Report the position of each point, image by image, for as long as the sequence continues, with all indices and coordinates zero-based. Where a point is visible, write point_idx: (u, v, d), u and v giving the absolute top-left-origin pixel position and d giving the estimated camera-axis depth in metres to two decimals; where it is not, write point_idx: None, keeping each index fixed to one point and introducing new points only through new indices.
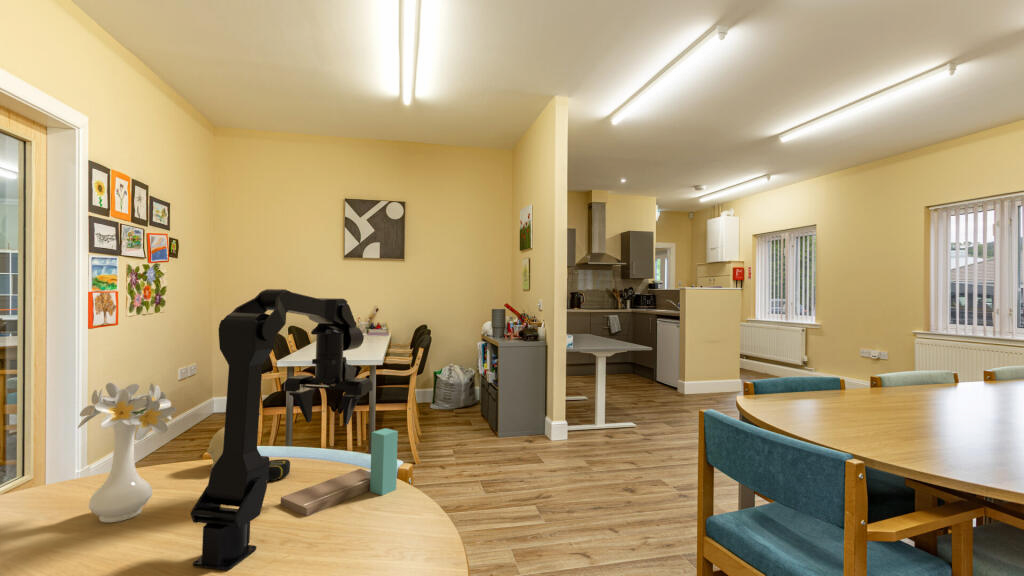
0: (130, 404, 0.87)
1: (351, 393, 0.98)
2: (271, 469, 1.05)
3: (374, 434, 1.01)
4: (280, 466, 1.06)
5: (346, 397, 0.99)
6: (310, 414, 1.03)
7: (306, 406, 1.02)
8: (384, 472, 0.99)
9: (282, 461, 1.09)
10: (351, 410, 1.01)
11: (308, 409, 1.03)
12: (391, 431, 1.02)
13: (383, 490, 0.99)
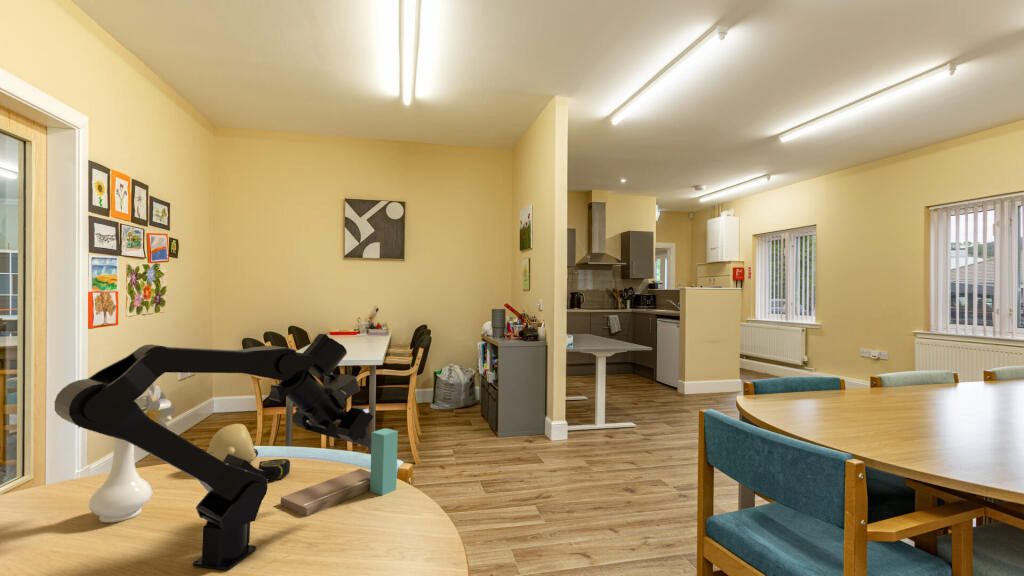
0: None
1: (347, 439, 0.85)
2: (271, 468, 1.05)
3: (374, 434, 1.01)
4: (280, 466, 1.06)
5: (346, 440, 0.87)
6: (337, 432, 0.97)
7: (327, 431, 0.95)
8: (384, 472, 0.99)
9: (282, 461, 1.09)
10: (364, 437, 0.91)
11: (331, 431, 0.96)
12: (391, 431, 1.02)
13: (383, 490, 0.99)
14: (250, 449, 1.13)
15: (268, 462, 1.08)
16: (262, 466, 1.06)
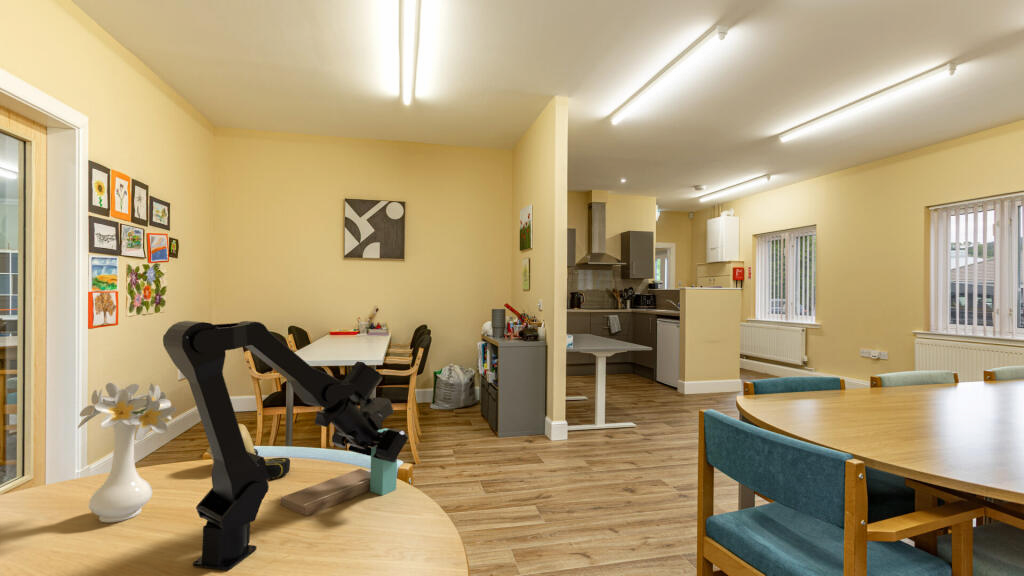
0: (130, 404, 0.87)
1: (385, 459, 0.93)
2: (271, 467, 1.06)
3: None
4: (280, 464, 1.07)
5: None
6: None
7: (370, 451, 1.02)
8: (384, 472, 0.99)
9: (282, 459, 1.10)
10: None
11: None
12: None
13: (383, 490, 0.99)
14: (250, 449, 1.13)
15: (268, 461, 1.09)
16: None
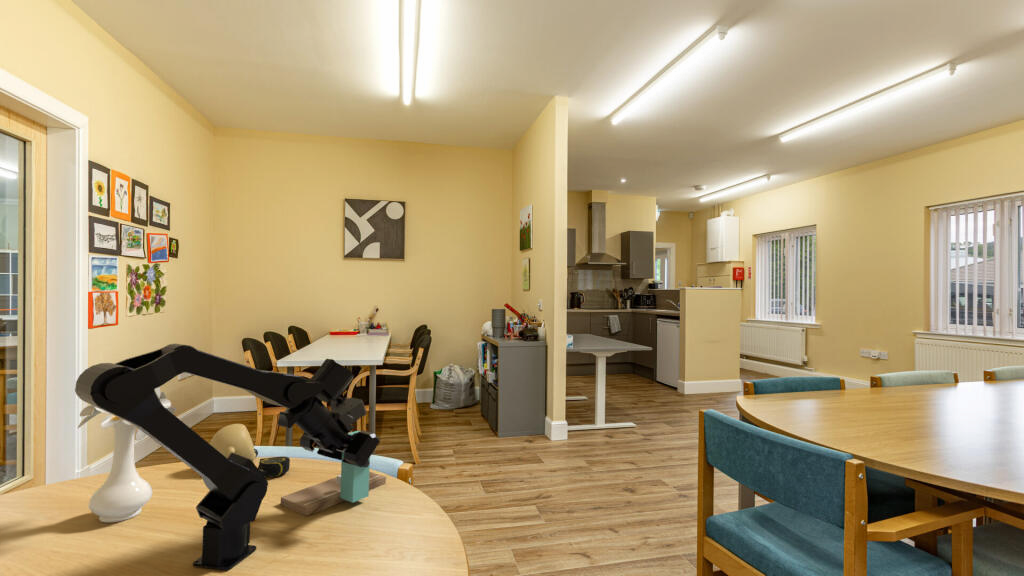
0: None
1: (354, 464, 0.87)
2: (271, 465, 1.07)
3: None
4: (280, 463, 1.08)
5: (345, 462, 0.89)
6: None
7: (341, 455, 0.95)
8: (354, 478, 0.93)
9: (282, 458, 1.11)
10: None
11: None
12: None
13: (353, 497, 0.93)
14: (250, 449, 1.13)
15: (268, 459, 1.10)
16: (262, 463, 1.07)
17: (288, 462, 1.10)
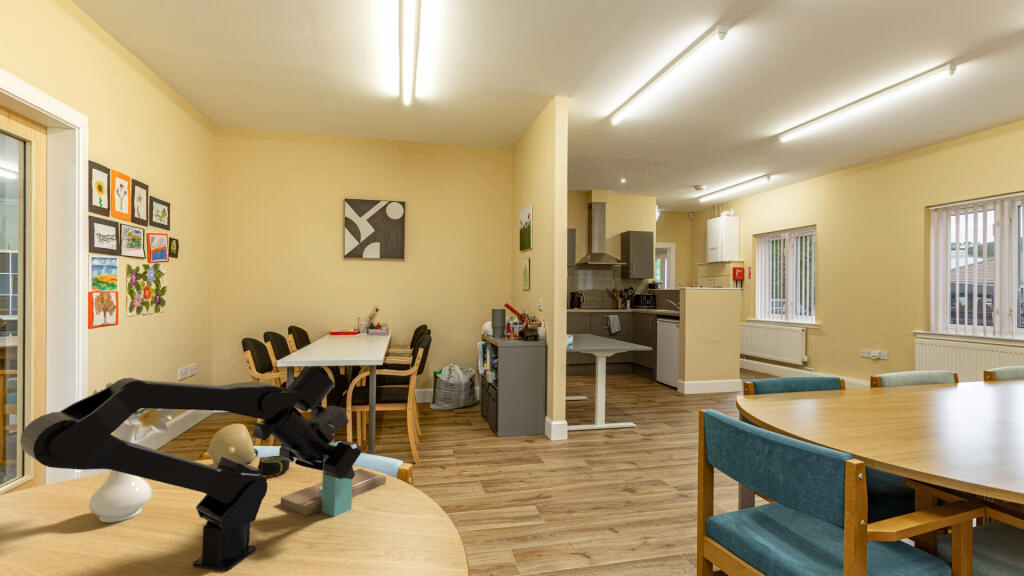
0: None
1: (334, 476, 0.83)
2: (271, 464, 1.08)
3: None
4: (280, 462, 1.09)
5: None
6: None
7: (320, 465, 0.92)
8: (336, 491, 0.89)
9: None
10: None
11: None
12: None
13: (335, 511, 0.89)
14: (250, 449, 1.13)
15: (268, 458, 1.11)
16: (262, 462, 1.08)
17: (288, 461, 1.11)
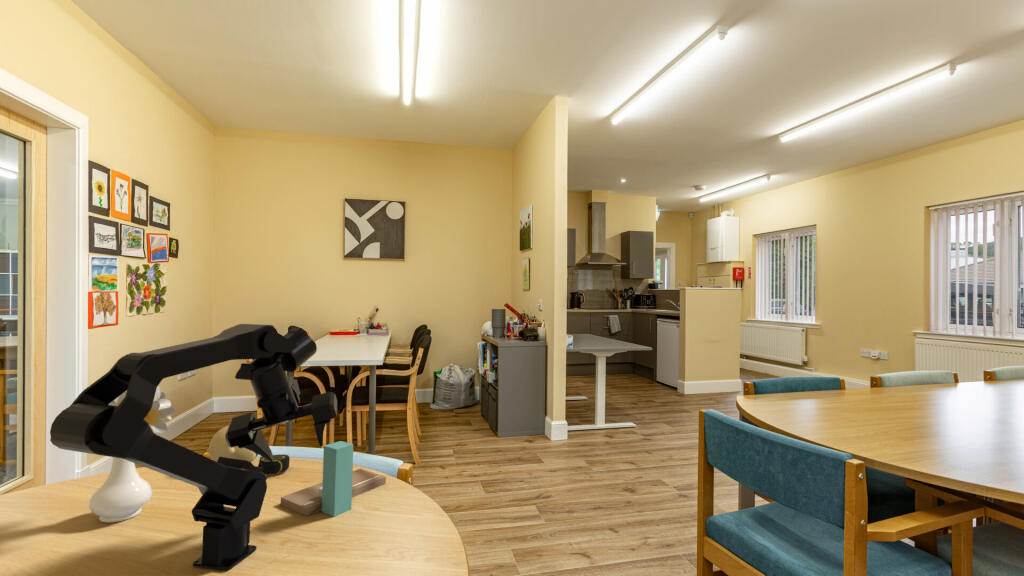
0: None
1: (325, 419, 0.85)
2: (271, 463, 1.08)
3: (326, 448, 0.91)
4: (280, 461, 1.10)
5: (319, 425, 0.85)
6: (270, 451, 0.87)
7: (264, 448, 0.86)
8: (336, 491, 0.89)
9: (282, 456, 1.13)
10: None
11: (267, 449, 0.86)
12: (346, 444, 0.92)
13: (335, 511, 0.89)
14: None
15: None
16: (262, 461, 1.09)
17: (288, 460, 1.12)
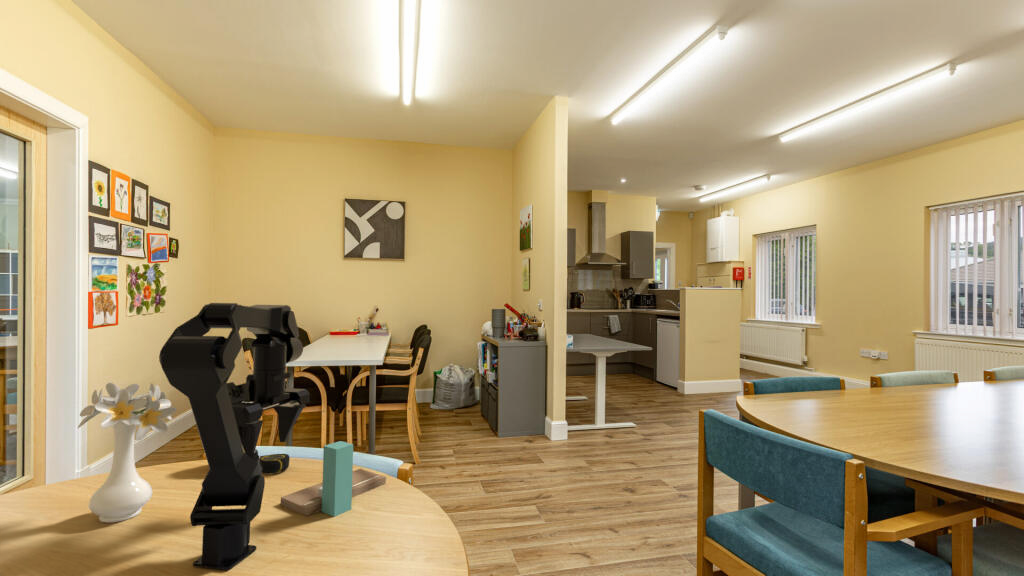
0: (130, 404, 0.87)
1: (305, 402, 0.96)
2: (271, 462, 1.09)
3: (326, 448, 0.91)
4: (280, 460, 1.10)
5: (301, 408, 0.95)
6: None
7: None
8: (336, 491, 0.89)
9: (282, 455, 1.13)
10: None
11: None
12: (346, 444, 0.92)
13: (335, 511, 0.89)
14: None
15: (268, 456, 1.12)
16: (262, 460, 1.09)
17: (288, 459, 1.12)
